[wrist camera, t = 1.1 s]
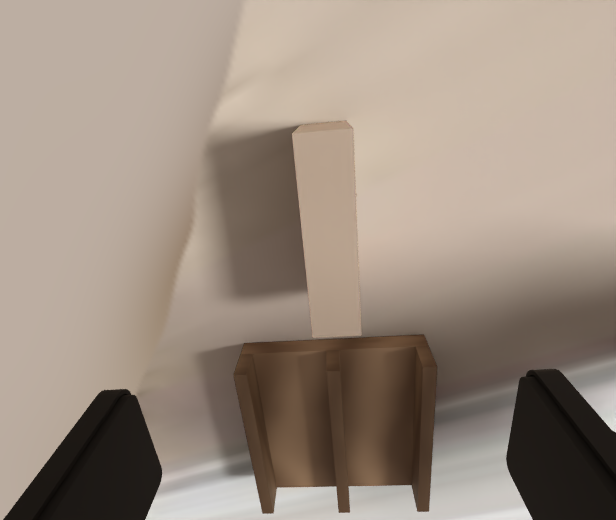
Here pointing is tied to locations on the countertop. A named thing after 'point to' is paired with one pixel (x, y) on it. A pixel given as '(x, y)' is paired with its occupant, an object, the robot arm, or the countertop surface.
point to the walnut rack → (339, 414)
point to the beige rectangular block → (329, 226)
